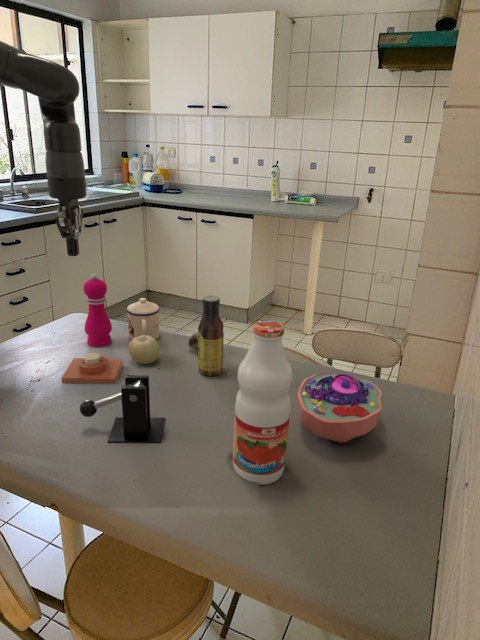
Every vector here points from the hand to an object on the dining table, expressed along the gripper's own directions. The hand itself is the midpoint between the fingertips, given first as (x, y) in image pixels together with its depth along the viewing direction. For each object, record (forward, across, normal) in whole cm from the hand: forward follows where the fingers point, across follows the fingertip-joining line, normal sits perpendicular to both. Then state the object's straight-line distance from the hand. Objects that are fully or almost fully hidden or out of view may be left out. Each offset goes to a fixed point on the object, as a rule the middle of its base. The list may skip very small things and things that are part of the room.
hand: (73, 255), depth 103 cm
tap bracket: (+29, +26, +17) cm, 42 cm away
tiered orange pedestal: (+29, +3, +3) cm, 29 cm away
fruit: (+29, -5, +14) cm, 33 cm away
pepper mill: (+29, -16, 0) cm, 33 cm away
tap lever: (+23, +26, +13) cm, 37 cm away
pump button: (+25, +3, +3) cm, 26 cm away
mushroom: (+29, -12, +29) cm, 43 cm away
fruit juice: (+29, +36, +40) cm, 61 cm away
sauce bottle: (+29, 0, +31) cm, 43 cm away
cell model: (+29, +24, +57) cm, 68 cm away
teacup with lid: (+29, -19, +12) cm, 37 cm away
